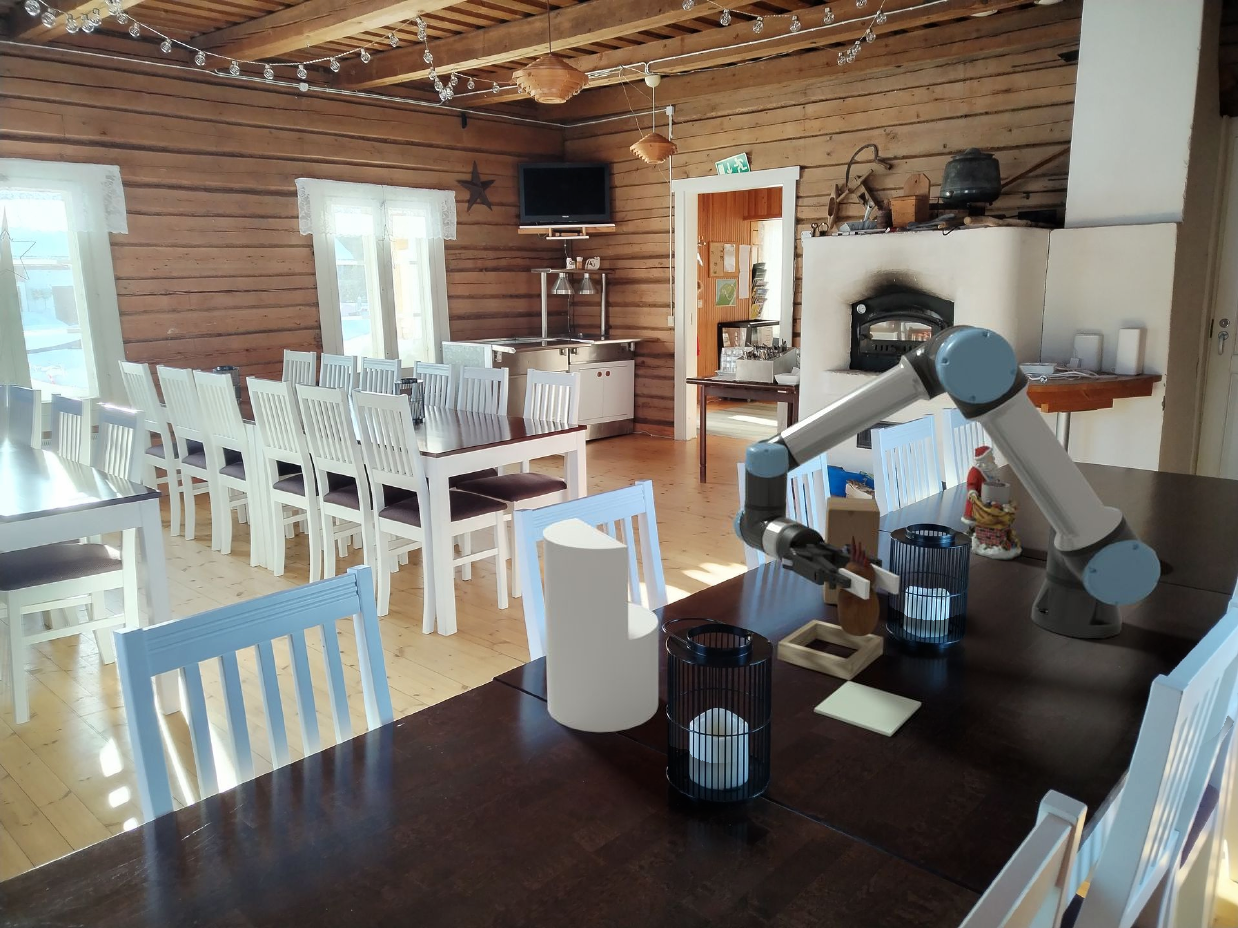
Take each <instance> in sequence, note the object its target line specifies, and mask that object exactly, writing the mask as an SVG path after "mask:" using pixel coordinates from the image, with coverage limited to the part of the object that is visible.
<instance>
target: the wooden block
mask: <svg viewBox="0 0 1238 928" xmlns="http://www.w3.org/2000/svg"><path fill="white" fill-rule="evenodd" d="M825 506H826V507H825V530H824V531H825V532H824V533H825V534H824V541H825V543H829V544H830V545H834V546H835V547H837V548H840V549H841V548H843V547H844V546H845V544H851V542H852V536H854V538H855V543H856V549H857V547H858V542H861V550H865V553H867V554H870V555H872V556H874V557H876V558H878V559H879V543H880V542H879V540H880V526H881V525H880V524H881V521H880V520H881V511H880V508H879V505H878V502H877V500H876V499H875V498H862V497H860V498H858V497H857V498H855V497H836V496H835V497H831V496H828V497H827V498H826V505H825ZM837 572H839V569H838V570H837ZM871 587H872V588H873V590H874V591H875V593H876V594H877V586H876V585H874V584H873V585H872V586H871ZM841 588H842V587H840V586H838V585H836V589H835V590H832V589H829V584H828V583H827V582H824V585H822V590H823V602H824V603H825V604H826V605H827V604H828V605H829V604H831V605H837V603H838V594H839V591H840V589H841Z"/></svg>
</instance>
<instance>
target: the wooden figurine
mask: <svg viewBox="0 0 1238 928" xmlns="http://www.w3.org/2000/svg"><path fill="white" fill-rule="evenodd" d="M845 569H846V570H848V571H850V572H852V573H854V574H856V575H858V576H860V577H862V578H864V579H866V580H868V581H870V588H869V599H863V598H861V597H859V596H857V595H855V594H853V593H851V592H850V591H848V590H846V589H844V588H841V589H840V591H839V594H838V603H837V604H836V606H837V617H838V621H839V624H840V626H841V627H842V629H843V630H844V631H845V632H846V633H848V634H850V635H854V636H866V635H868V634H871V633H873V631H874V630H875V628H876V626H877V624H878V621H879V617H880V601H879V598H878V594H877V592H876V593H875V591H874V590H873V588H872V587H871V586H872V585H873V584H874V582H875V570H874V567H873V566H872V564H870V563H869V556H866V555H865V550H861V542H858V547H857V549H856V543H855V538H854V536H852V542H851V554H850V562H849V563H848V564H847V565H846V567H845Z"/></svg>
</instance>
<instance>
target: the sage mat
mask: <svg viewBox="0 0 1238 928" xmlns="http://www.w3.org/2000/svg"><path fill="white" fill-rule="evenodd" d="M921 706H922V702H920V701H917V700H915V699H914V700H913V699H912V698H911V699H910V698H907V697H904V696H900V695H898V694H894V693H890V692H888V691H885V690H881V689H878V688H874V687H871V686H866V685H863V684H860V683H856V682H853V681H851V680H847V681H846V682H845V683H844V684H842V685H841V686H839V688H837V690H836V691H834V692H833V693H832V694H830V695H829V696H828V697H827V698H825V699H824V700H823V701H821V703H820V704H818V705H817V706H816V707H814V710H813V712H814V713H816V714H820V715H823V716H826V717H830V718H833V719H836V720H838V721H840V722H841V721H842V722H845V723H847V724H850V725H853V726H857V727H860V728H863V729H866V730H869V731H872V732H875V733H878V734H881V735H884V736H887V737H892V736H893V734H894V733H896V731H898V729H899V728H900V727H902V725H903V724H904V723H905V722H906V721H907V720H908V719H909V718H911V716H912V715H913V714H914V713H915V712H916V711H918V709H919V708H920V707H921Z"/></svg>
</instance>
